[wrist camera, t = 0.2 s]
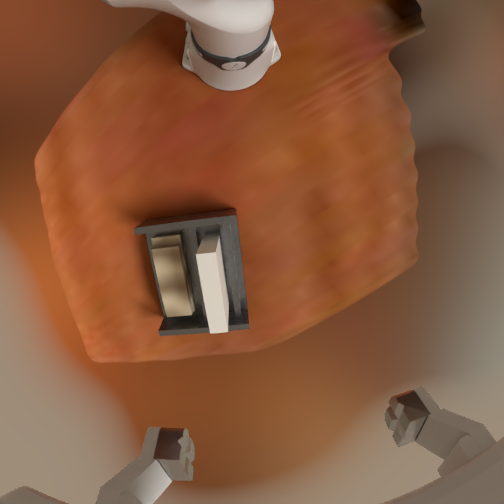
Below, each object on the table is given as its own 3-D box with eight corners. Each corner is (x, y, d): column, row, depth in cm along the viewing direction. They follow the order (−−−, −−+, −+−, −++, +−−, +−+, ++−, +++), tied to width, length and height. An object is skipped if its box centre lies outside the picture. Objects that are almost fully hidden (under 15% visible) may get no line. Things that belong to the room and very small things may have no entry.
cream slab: (204, 234, 53) (195, 254, 42) (219, 232, 53) (215, 252, 42) (214, 301, 58) (210, 333, 46) (229, 299, 58) (228, 332, 46)
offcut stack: (154, 235, 53) (148, 241, 49) (181, 232, 53) (177, 237, 49) (169, 309, 58) (165, 318, 54) (195, 307, 58) (192, 316, 54)
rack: (145, 220, 53) (134, 228, 47) (236, 208, 54) (236, 215, 47) (166, 318, 60) (159, 335, 53) (247, 311, 60) (249, 328, 54)
